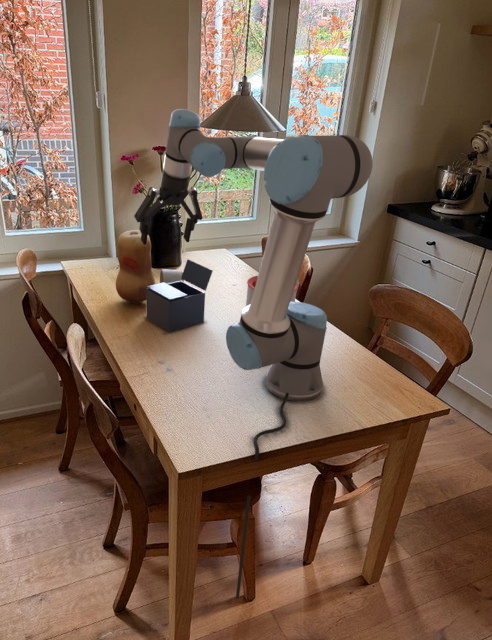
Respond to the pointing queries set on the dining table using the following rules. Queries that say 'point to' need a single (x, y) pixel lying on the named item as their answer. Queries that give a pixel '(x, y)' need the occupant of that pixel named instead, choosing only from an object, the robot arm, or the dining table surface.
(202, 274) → the flap
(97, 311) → the dining table surface
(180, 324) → the carton
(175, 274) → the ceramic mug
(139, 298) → the butternut squash
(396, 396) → the dining table surface
